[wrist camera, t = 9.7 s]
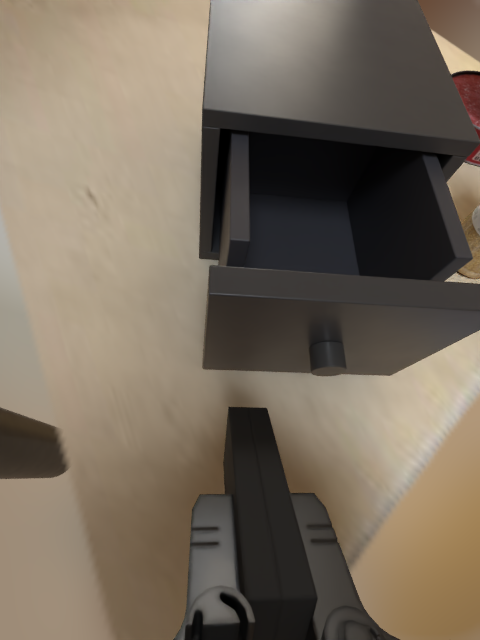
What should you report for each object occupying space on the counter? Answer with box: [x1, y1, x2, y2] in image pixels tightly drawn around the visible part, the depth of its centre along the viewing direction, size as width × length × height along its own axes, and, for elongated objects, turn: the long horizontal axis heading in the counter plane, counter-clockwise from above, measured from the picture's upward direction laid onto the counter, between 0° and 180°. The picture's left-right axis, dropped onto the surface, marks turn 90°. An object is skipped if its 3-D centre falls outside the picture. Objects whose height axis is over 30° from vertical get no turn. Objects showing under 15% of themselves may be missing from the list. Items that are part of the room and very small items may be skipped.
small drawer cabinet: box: [199, 0, 480, 260], centre depth 22 cm, size 15×13×11 cm
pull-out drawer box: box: [203, 129, 480, 376], centre depth 18 cm, size 15×11×9 cm
